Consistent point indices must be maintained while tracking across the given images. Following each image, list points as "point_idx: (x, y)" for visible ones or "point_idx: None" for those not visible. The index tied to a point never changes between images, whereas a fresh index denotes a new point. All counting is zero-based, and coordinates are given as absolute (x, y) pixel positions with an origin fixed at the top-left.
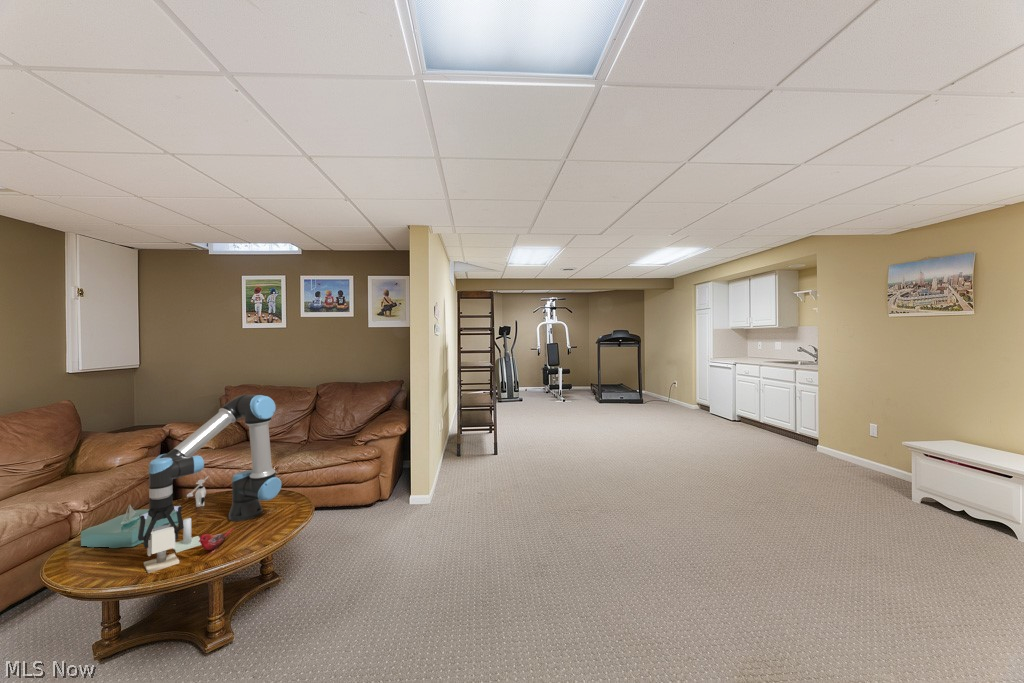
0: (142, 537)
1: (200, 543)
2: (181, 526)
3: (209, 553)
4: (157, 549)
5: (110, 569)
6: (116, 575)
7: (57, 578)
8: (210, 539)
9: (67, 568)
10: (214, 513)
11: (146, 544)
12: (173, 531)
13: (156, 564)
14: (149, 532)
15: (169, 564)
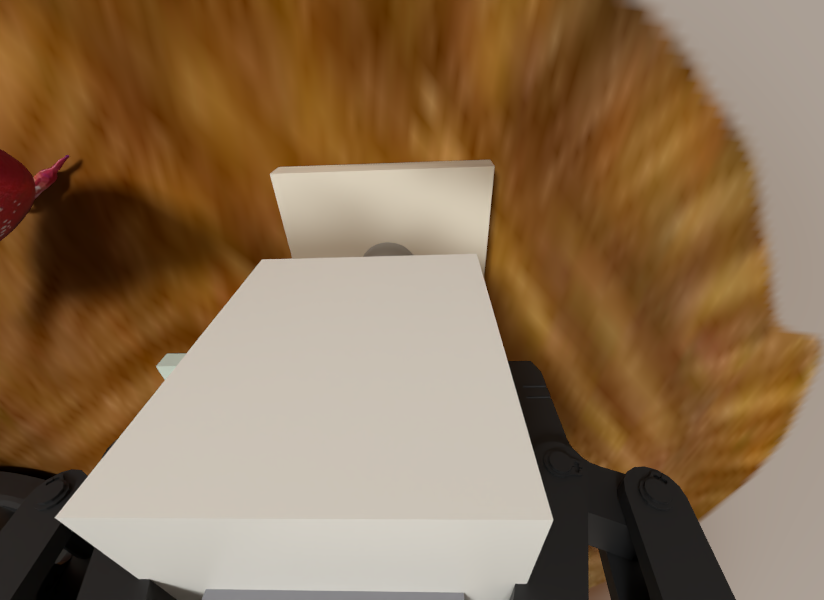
0: (640, 518)
1: (173, 365)
2: (34, 529)
3: (53, 165)
4: (423, 275)
5: (603, 386)
6: (623, 295)
7: (762, 440)
8: None
9: (686, 488)
10: None
11: (528, 397)
12: (123, 445)
13: (424, 241)
14: (551, 598)
15: (342, 170)
